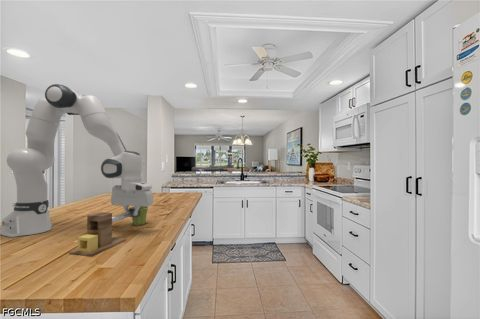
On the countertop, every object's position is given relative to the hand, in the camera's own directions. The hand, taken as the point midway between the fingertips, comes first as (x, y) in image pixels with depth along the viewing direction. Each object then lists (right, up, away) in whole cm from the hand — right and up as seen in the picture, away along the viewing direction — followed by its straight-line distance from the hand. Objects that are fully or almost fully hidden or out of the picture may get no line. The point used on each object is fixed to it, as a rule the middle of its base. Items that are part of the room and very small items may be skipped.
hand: (131, 215), depth 117 cm
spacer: (-5, -7, -25) cm, 26 cm away
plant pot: (-3, -8, +15) cm, 18 cm away
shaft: (-2, -1, -8) cm, 8 cm away
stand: (-4, -8, -19) cm, 21 cm away
